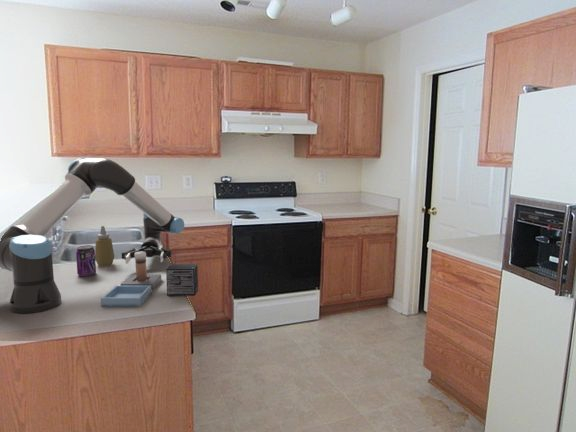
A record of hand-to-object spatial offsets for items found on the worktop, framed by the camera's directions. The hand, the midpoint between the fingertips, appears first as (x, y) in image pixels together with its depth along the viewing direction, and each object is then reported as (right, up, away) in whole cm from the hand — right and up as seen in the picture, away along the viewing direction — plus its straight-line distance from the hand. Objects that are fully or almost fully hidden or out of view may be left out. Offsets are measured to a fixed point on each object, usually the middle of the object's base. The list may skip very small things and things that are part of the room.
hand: (144, 259), depth 174 cm
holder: (+2, -9, -8) cm, 12 cm away
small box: (+20, -11, -17) cm, 28 cm away
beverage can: (-25, -7, +4) cm, 27 cm away
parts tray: (+2, -12, -24) cm, 27 cm away
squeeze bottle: (-24, -5, +18) cm, 30 cm away
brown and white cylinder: (+2, -9, -8) cm, 12 cm away
